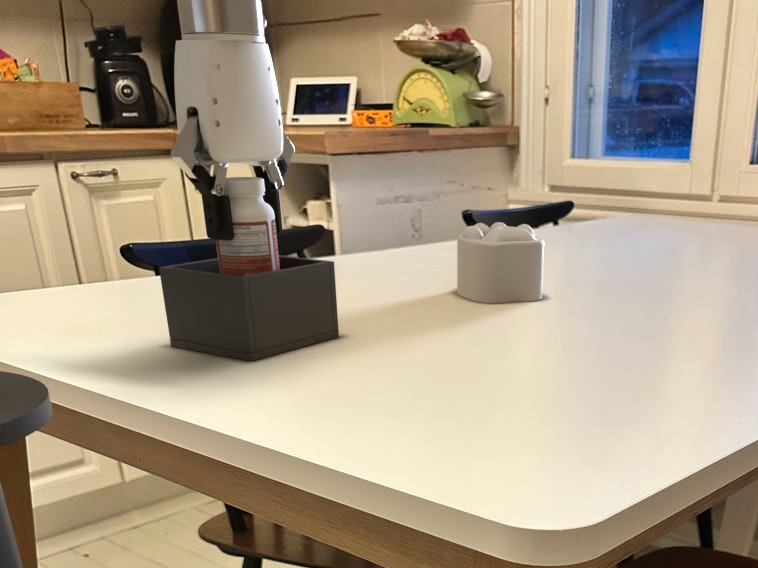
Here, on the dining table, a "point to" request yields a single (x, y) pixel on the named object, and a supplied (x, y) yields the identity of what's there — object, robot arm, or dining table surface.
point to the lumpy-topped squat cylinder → (499, 263)
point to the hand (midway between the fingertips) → (245, 233)
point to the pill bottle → (249, 230)
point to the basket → (250, 307)
